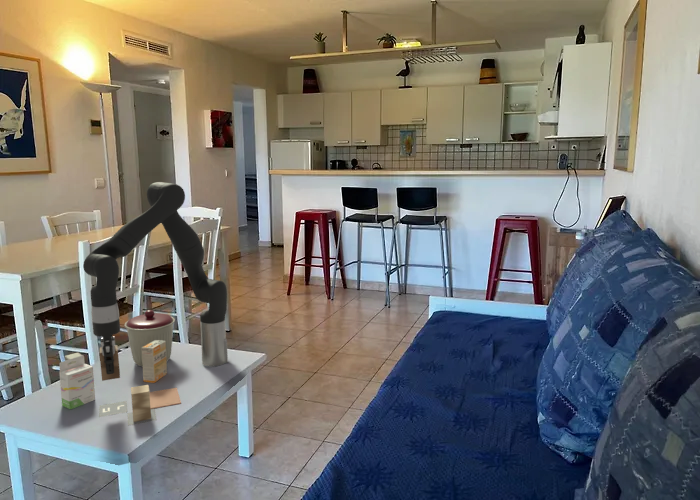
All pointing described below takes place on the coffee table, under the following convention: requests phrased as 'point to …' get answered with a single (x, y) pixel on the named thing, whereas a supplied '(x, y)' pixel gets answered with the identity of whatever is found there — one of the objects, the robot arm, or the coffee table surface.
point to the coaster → (164, 398)
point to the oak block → (141, 403)
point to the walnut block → (116, 365)
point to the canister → (149, 332)
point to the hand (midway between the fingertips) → (110, 369)
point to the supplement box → (154, 361)
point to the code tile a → (112, 408)
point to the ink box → (76, 383)
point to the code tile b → (153, 418)
